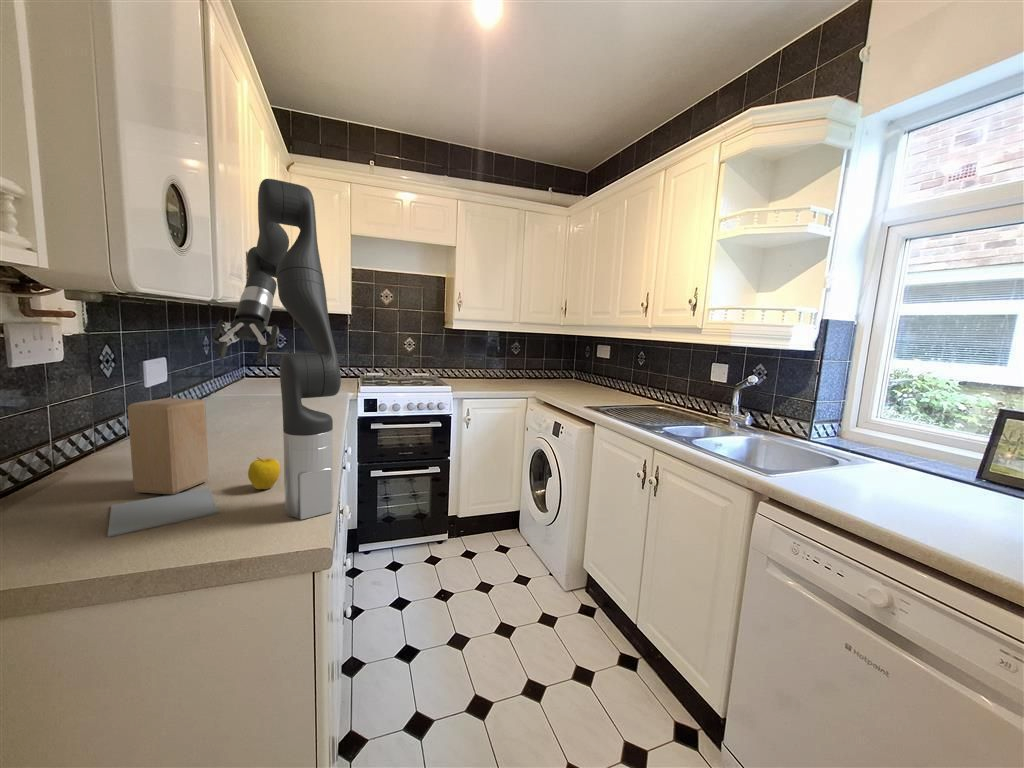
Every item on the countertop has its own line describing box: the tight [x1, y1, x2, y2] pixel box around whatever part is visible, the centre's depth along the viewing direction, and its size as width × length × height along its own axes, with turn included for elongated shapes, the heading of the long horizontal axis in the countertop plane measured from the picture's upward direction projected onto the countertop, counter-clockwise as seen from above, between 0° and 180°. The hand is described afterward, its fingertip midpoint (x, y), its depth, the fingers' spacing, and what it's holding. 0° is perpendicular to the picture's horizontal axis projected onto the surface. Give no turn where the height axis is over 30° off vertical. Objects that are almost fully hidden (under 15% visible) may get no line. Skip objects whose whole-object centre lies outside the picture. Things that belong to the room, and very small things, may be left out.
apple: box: [247, 456, 281, 490], centre depth 95 cm, size 6×6×8 cm
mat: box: [107, 487, 219, 538], centre depth 83 cm, size 15×16×1 cm
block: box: [127, 397, 210, 495], centre depth 92 cm, size 10×10×20 cm
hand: (240, 358), depth 102 cm, fingers open, 8 cm apart
